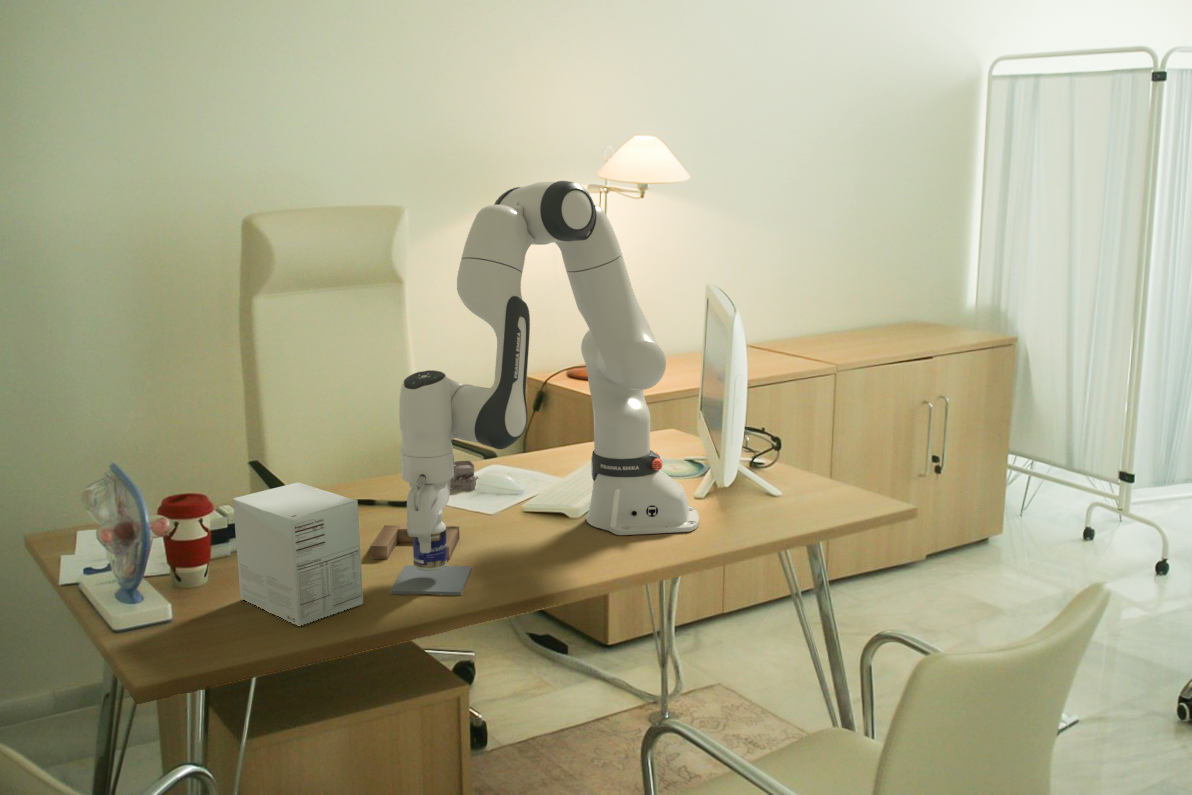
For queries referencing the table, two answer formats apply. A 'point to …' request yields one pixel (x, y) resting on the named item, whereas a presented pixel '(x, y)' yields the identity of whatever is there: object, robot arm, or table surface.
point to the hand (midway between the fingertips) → (430, 544)
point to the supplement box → (298, 552)
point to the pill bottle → (438, 551)
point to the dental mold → (463, 476)
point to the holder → (399, 533)
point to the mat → (432, 580)
